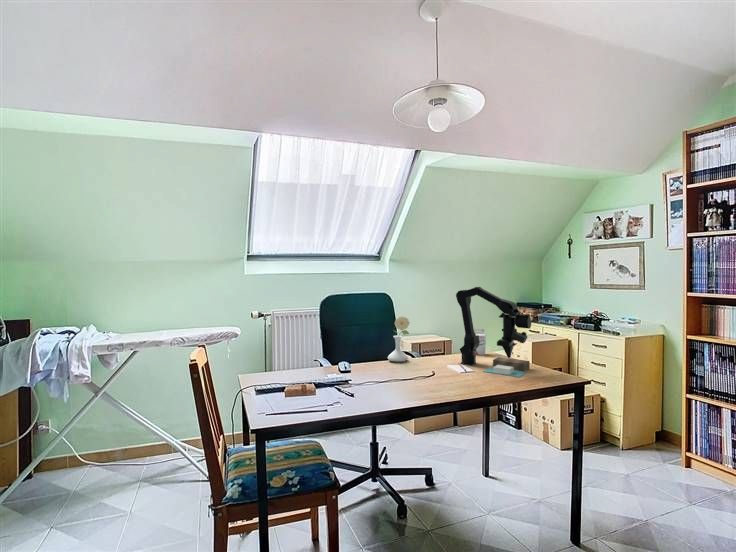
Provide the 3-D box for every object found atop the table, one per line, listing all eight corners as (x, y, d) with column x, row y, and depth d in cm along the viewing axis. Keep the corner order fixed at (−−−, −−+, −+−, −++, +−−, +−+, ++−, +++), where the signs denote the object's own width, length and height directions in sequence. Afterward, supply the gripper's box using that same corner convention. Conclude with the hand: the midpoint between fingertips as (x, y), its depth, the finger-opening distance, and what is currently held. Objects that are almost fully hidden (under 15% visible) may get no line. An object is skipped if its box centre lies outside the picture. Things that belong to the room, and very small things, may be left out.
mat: (482, 371, 213) (482, 371, 213) (491, 367, 222) (491, 366, 222) (519, 377, 202) (519, 376, 202) (526, 372, 211) (526, 371, 211)
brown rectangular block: (493, 367, 221) (493, 359, 221) (498, 364, 228) (498, 357, 227) (524, 372, 212) (524, 364, 211) (529, 368, 218) (529, 360, 218)
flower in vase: (383, 361, 236) (383, 316, 236) (393, 357, 246) (393, 314, 245) (405, 364, 230) (404, 318, 229) (414, 360, 239) (414, 315, 238)
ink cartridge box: (470, 355, 251) (470, 329, 251) (469, 353, 256) (469, 328, 256) (485, 355, 250) (485, 330, 250) (484, 353, 255) (484, 328, 255)
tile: (497, 364, 216) (497, 369, 216) (493, 367, 211) (493, 372, 211) (513, 366, 211) (513, 372, 211) (509, 369, 206) (509, 374, 206)
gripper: (519, 330, 204) (519, 363, 204) (530, 325, 219) (530, 356, 219) (496, 328, 210) (496, 360, 211) (509, 324, 225) (509, 353, 226)
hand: (509, 357), depth 217 cm, fingers closed
